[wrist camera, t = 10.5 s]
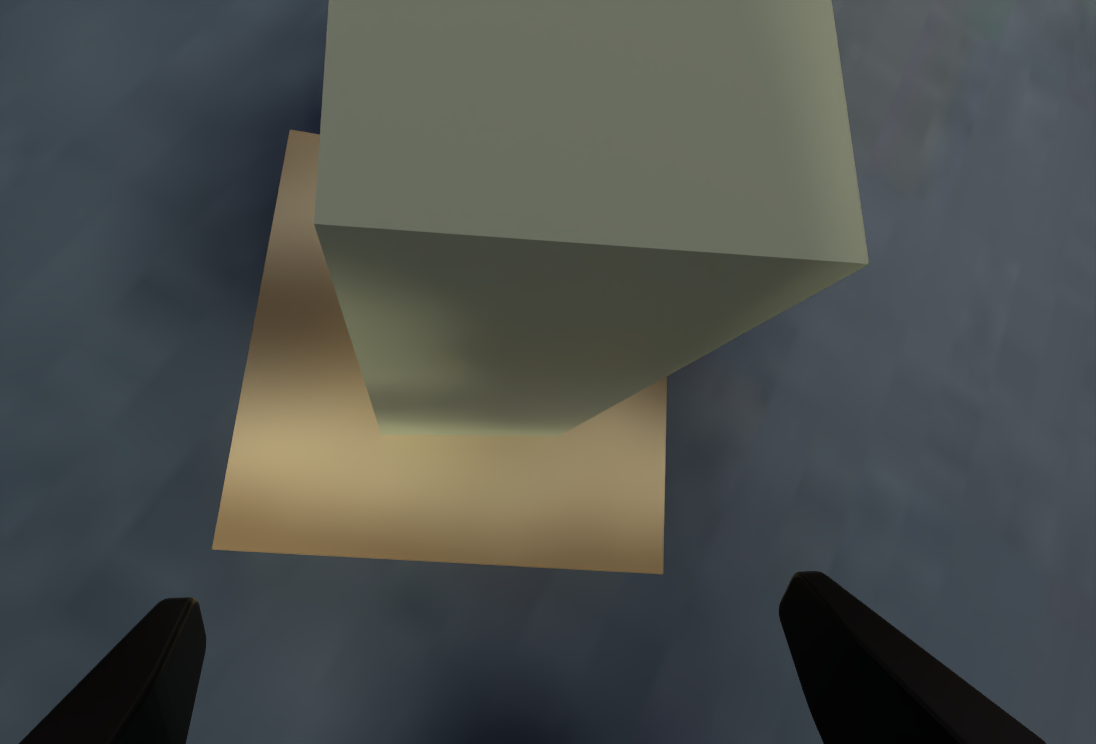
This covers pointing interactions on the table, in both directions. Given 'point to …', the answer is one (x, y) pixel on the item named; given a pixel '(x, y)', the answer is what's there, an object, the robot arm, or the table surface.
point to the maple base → (414, 446)
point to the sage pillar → (573, 195)
